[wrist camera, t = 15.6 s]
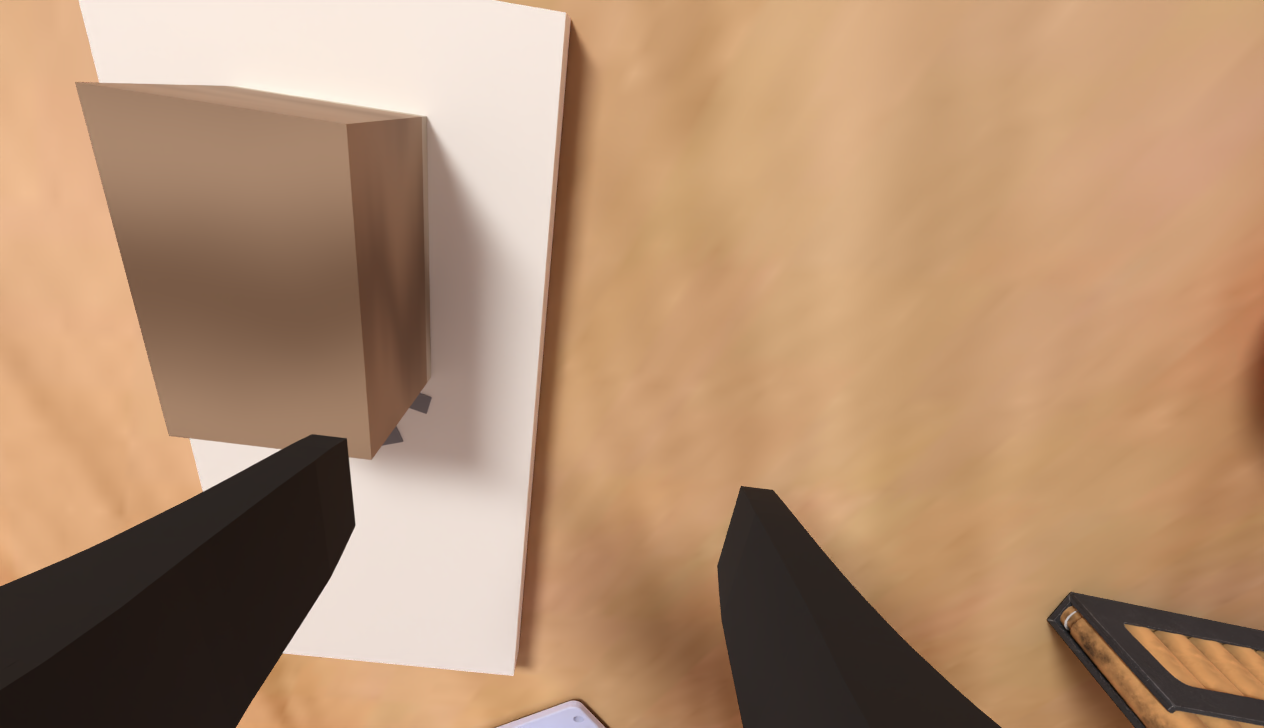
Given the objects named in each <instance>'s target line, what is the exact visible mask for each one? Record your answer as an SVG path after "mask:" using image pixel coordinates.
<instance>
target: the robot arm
mask: <svg viewBox="0 0 1264 728" xmlns="http://www.w3.org/2000/svg"><path fill="white" fill-rule="evenodd" d="M355 526H356V524H355V514H354V504H353V494H352V484H351V474H350V465H349V455H348V445H347V438H340V437H332V436H324V435H316V434H311V435H309V436H307V437H305V438H303V439H301V440H299V441H297V442H295V443H293V444H291V445H289V446H287V447H285V448H283V449H281V450H280V451H278V452H276V453H274V454H272V455H270V456H268V457H267V458H265V459H263V460H261V461H259V462H257V463H256V464H254V465H252V466H250V467H248V468H246V469H245V470H243V471H241V472H239V473H237V474H235V475H234V476H232V477H230V478H228V479H226V480H224V481H222V482H220V483H219V484H217V485H215V486H213V487H211V488H209V489H207V490H206V491H204V492H202V493H200V494H198V495H196V496H194V497H192V498H191V499H189V500H187V501H185V502H183V503H181V504H179V505H177V506H175V507H173V508H171V509H169V510H167V511H165V512H163V513H161V514H159V515H157V516H155V517H153V518H151V519H149V520H147V521H144V522H142V523H140V524H138V525H136V526H134V527H132V528H130V529H128V530H126V531H124V532H122V533H120V534H118V535H116V536H114V537H112V538H110V539H108V540H106V541H104V542H102V543H99V544H97V545H95V546H93V547H91V548H89V549H86V550H84V551H82V552H80V553H78V554H75V555H73V556H71V557H69V558H66V559H64V560H62V561H60V562H57V563H55V564H53V565H50V566H48V567H45V568H43V569H41V570H38V571H36V572H34V573H31V574H29V575H27V576H24V577H22V578H19V579H17V580H15V581H12V582H10V583H8V584H5V585H3V586H0V728H236V726H237V725H238V723H239V721H240V720H241V718H242V716H243V715H244V713H245V711H246V710H247V708H248V706H249V705H250V703H251V701H252V700H253V698H254V697H255V695H256V694H257V692H258V691H259V689H260V687H261V686H262V684H263V683H264V681H265V680H266V678H267V677H268V675H269V674H270V672H271V670H272V669H273V667H274V666H275V664H276V663H277V661H278V660H279V658H280V656H281V655H282V653H283V652H284V650H285V649H286V647H287V646H288V644H289V643H290V641H291V639H292V638H293V636H294V635H295V633H296V632H297V630H298V629H299V627H300V626H301V624H302V622H303V621H304V619H305V618H306V616H307V615H308V613H309V611H310V610H311V608H312V607H313V605H314V604H315V602H316V600H317V599H318V597H319V596H320V594H321V593H322V591H323V589H324V588H325V586H326V585H327V583H328V581H329V580H330V578H331V576H332V574H333V572H334V570H335V568H336V566H337V564H338V562H339V560H340V558H341V556H342V554H343V552H344V550H345V548H346V545H347V543H348V541H349V539H350V537H351V534H352V532H353V530H354V528H355ZM717 567H718V582H719V596H720V607H721V618H722V624H723V629H724V634H725V639H726V645H727V650H728V655H729V660H730V665H731V670H732V675H733V679H734V684H735V689H736V694H737V699H738V704H739V709H740V714H741V719H742V724H743V728H1001V727H1000V726H999V725H998V724H997V723H995V722H994V721H993V720H992V719H991V718H989V717H988V716H987V715H986V714H985V713H983V712H982V711H981V710H980V709H979V708H977V707H976V706H975V705H974V704H973V703H972V702H971V701H969V700H968V699H967V698H966V697H965V696H964V695H963V694H961V693H960V692H959V691H958V690H957V689H956V688H955V687H954V686H952V685H951V684H950V683H949V682H948V681H947V680H946V679H945V678H944V677H943V676H942V675H941V674H940V673H939V672H937V671H936V670H935V669H934V668H933V667H932V666H931V665H930V664H929V663H928V662H927V661H926V660H925V659H924V658H922V657H921V656H920V655H919V654H918V653H917V652H916V651H915V650H914V649H913V648H912V647H911V646H910V645H909V644H908V643H907V642H906V641H905V640H904V639H903V638H902V637H901V636H900V635H899V634H898V633H897V632H896V631H895V630H894V629H893V628H892V627H891V626H890V625H889V624H888V623H887V622H886V621H885V620H884V619H883V618H882V616H881V615H880V614H879V613H878V612H877V611H876V610H875V609H874V608H873V607H872V606H871V605H870V604H869V603H868V602H867V601H866V600H865V599H864V597H863V596H862V595H861V594H860V593H859V592H858V591H857V590H856V589H855V587H854V586H853V585H852V584H851V583H850V582H849V581H848V580H847V578H846V577H845V576H844V575H843V574H842V573H841V572H840V570H839V569H838V568H837V567H836V566H835V565H834V563H833V562H832V561H831V560H830V559H829V558H828V556H827V555H826V554H825V553H824V552H823V550H822V549H821V548H820V547H819V546H818V544H817V543H816V542H815V541H814V539H813V538H812V537H811V536H810V535H809V533H808V532H807V531H806V530H805V528H804V527H803V526H802V525H801V524H800V522H799V521H798V520H797V519H796V517H795V516H794V515H793V514H792V512H791V511H790V510H789V509H788V507H787V506H786V505H785V504H784V503H783V501H782V500H781V499H780V498H779V497H778V495H777V494H776V493H775V492H774V491H773V490H769V489H760V488H752V487H744V486H741V488H740V491H739V495H738V498H737V501H736V505H735V508H734V512H733V515H732V518H731V522H730V525H729V528H728V532H727V535H726V539H725V542H724V545H723V549H722V552H721V556H720V559H719V562H718V566H717ZM496 728H605V727H604V726H603V724H602V723H601V722H600V721H599V720H598V719H597V718H596V717H595V716H594V715H593V714H592V713H591V712H590V711H589V710H588V709H587V708H586V707H585V706H584V705H583V704H582V703H581V702H579V701H575V700H572V701H568V702H565V703H563V704H560V705H557V706H554V707H551V708H549V709H546V710H543V711H540V712H538V713H535V714H532V715H529V716H527V717H524V718H521V719H518V720H515V721H513V722H510V723H507V724H504V725H502V726H499V727H496Z"/></svg>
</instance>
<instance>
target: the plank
mask: <svg viewBox="0 0 1264 728" xmlns="http://www.w3.org/2000/svg"><path fill="white" fill-rule="evenodd" d="M79 4H80V8H81V12H82V16H83V20H84V24H85V27H86V31H87V35H88V39H89V43H90V47H91V51H92V55H93V59H94V63H95V67H96V71H97V75H98V79H99V83H133V84H174V85H214V86H238V87H244V88H251V89H257V90H263V91H270V92H276V93H282V94H289V95H295V96H302V97H308V98H314V99H321V100H327V101H333V102H340V103H346V104H352V105H359V106H365V107H372V108H378V109H384V110H391V111H397V112H403V113H410V114H416V115H422V116H427V153H428V216H429V279H430V343H431V378H430V380H429V381H428V382H427V384H426V385H425V387H424V388H423V389H422V391H421V392H420V394H419V395H418V396H417V398H416V399H415V400H414V402H413V403H412V405H411V406H410V407H409V409H408V410H407V412H406V413H405V414H404V416H403V417H402V419H401V420H400V421H399V423H398V424H397V425H396V427H395V428H394V430H393V431H392V432H391V434H390V435H389V437H388V438H387V439H386V441H385V442H384V443H383V445H382V446H381V448H380V449H379V450H378V452H377V453H376V455H375V456H374V457H373V459H372V460H367V459H359V458H350V457H349V465H350V474H351V484H352V494H353V504H354V514H355V524H356V526H355V528H354V530H353V532H352V534H351V537H350V539H349V541H348V543H347V545H346V548H345V550H344V552H343V554H342V556H341V558H340V560H339V562H338V564H337V566H336V568H335V570H334V572H333V574H332V576H331V578H330V580H329V581H328V583H327V585H326V586H325V588H324V589H323V591H322V593H321V594H320V596H319V597H318V599H317V600H316V602H315V604H314V605H313V607H312V608H311V610H310V611H309V613H308V615H307V616H306V618H305V619H304V621H303V622H302V624H301V626H300V627H299V629H298V630H297V632H296V633H295V635H294V636H293V638H292V639H291V641H290V643H289V644H288V646H287V647H286V649H285V650H284V652H283V653H285V654H296V655H306V656H316V657H326V658H337V659H347V660H357V661H367V662H378V663H388V664H398V665H408V666H419V667H429V668H439V669H449V670H460V671H470V672H480V673H490V674H501V675H511V676H514V671H515V666H516V661H517V656H518V651H519V639H520V627H521V615H522V603H523V591H524V579H525V567H526V555H527V543H528V531H529V519H530V507H531V494H532V482H533V470H534V458H535V446H536V434H537V422H538V410H539V398H540V386H541V374H542V362H543V350H544V337H545V325H546V313H547V301H548V289H549V277H550V265H551V253H552V241H553V229H554V217H555V205H556V193H557V181H558V168H559V156H560V144H561V132H562V120H563V108H564V96H565V84H566V72H567V60H568V48H569V36H570V24H571V18H570V17H569V16H568V14H567V13H565V12H559V11H553V10H548V9H542V8H536V7H530V6H524V5H518V4H513V3H507V2H501V1H495V0H79ZM190 442H191V446H192V450H193V454H194V458H195V462H196V466H197V470H198V474H199V478H200V482H201V486H202V490H203V492H204V491H206V490H207V489H209V488H211V487H213V486H215V485H217V484H219V483H220V482H222V481H224V480H226V479H228V478H230V477H232V476H234V475H235V474H237V473H239V472H241V471H243V470H245V469H246V468H248V467H250V466H252V465H254V464H256V463H257V462H259V461H261V460H263V459H265V458H267V457H268V456H270V455H272V454H274V453H276V452H278V451H280V450H281V449H275V448H266V447H258V446H250V445H241V444H233V443H224V442H216V441H208V440H199V439H191V438H190Z"/></svg>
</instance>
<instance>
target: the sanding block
mask: <svg viewBox="0 0 1264 728" xmlns="http://www.w3.org/2000/svg"><path fill="white" fill-rule="evenodd" d="M75 84H76V87H77V91H78V95H79V99H80V102H81V106H82V110H83V114H84V117H85V121H86V125H87V129H88V133H89V136H90V140H91V144H92V148H93V151H94V155H95V159H96V163H97V166H98V170H99V174H100V178H101V181H102V185H103V189H104V193H105V197H106V200H107V204H108V208H109V212H110V215H111V219H112V223H113V227H114V230H115V234H116V238H117V242H118V246H119V249H120V253H121V257H122V261H123V264H124V268H125V272H126V276H127V279H128V283H129V287H130V291H131V294H132V298H133V302H134V306H135V310H136V313H137V317H138V321H139V325H140V328H141V332H142V336H143V340H144V343H145V347H146V351H147V355H148V358H149V362H150V366H151V370H152V374H153V377H154V381H155V385H156V389H157V392H158V396H159V400H160V404H161V407H162V411H163V415H164V419H165V422H166V426H167V430H168V434H169V436H174V437H182V438H191V439H199V440H208V441H216V442H224V443H233V444H241V445H250V446H258V447H266V448H275V449H283V448H285V447H287V446H289V445H291V444H293V443H295V442H297V441H299V440H301V439H303V438H305V437H307V436H309V435H311V434H316V435H324V436H332V437H340V438H347V445H348V455H349V457H350V458H359V459H367V460H372V459H373V457H374V456H375V455H376V453H377V452H378V450H379V449H380V448H381V446H382V445H383V443H384V442H385V441H386V439H387V438H388V437H389V435H390V434H391V432H392V431H393V430H394V428H395V427H396V425H397V424H398V423H399V421H400V420H401V419H402V417H403V416H404V414H405V413H406V412H407V410H408V409H409V407H410V406H411V405H412V403H413V402H414V400H415V399H416V398H417V396H418V395H419V394H420V392H421V391H422V389H423V388H424V387H425V385H426V384H427V382H428V381H429V380H430V378H431V343H430V279H429V216H428V153H427V116H422V115H416V114H410V113H403V112H397V111H391V110H384V109H378V108H372V107H365V106H359V105H352V104H346V103H340V102H333V101H327V100H321V99H314V98H308V97H302V96H295V95H289V94H282V93H276V92H270V91H263V90H257V89H251V88H244V87H238V86H214V85H174V84H133V83H93V82H75Z"/></svg>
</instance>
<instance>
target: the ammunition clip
mask: <svg viewBox="0 0 1264 728" xmlns="http://www.w3.org/2000/svg"><path fill="white" fill-rule="evenodd" d="M1047 621H1048V622H1049V623H1050V624H1051V625H1052V627H1053V628H1054V629H1055V630H1056V632H1057V633H1058V634H1059V635H1060V637H1061V638H1062V639H1063V640H1064V641H1065V643H1066V644H1067V645H1068V646H1069V648H1070V649H1071V650H1072V651H1073V652H1074V654H1075V655H1076V656H1077V657H1078V659H1079V660H1080V661H1081V662H1082V663H1083V665H1084V666H1085V667H1086V668H1087V670H1088V671H1089V672H1090V673H1091V674H1092V676H1093V677H1094V678H1095V679H1096V681H1097V682H1098V683H1099V684H1100V685H1101V687H1102V688H1103V689H1104V690H1105V692H1106V693H1107V694H1108V695H1109V696H1110V698H1111V699H1112V700H1113V701H1114V703H1115V704H1116V705H1117V706H1118V707H1119V709H1120V710H1121V711H1122V712H1123V714H1124V715H1125V716H1126V717H1127V719H1128V720H1129V721H1130V722H1131V723H1132V725H1133V726H1134V727H1135V728H1264V631H1261V630H1256V629H1251V628H1246V627H1241V626H1236V625H1231V624H1227V623H1222V622H1217V621H1212V620H1207V619H1202V618H1197V617H1192V616H1187V615H1182V614H1177V613H1172V612H1167V611H1162V610H1158V609H1153V608H1148V607H1143V606H1138V605H1133V604H1128V603H1123V602H1118V601H1113V600H1108V599H1103V598H1098V597H1093V596H1089V595H1084V594H1079V593H1074V592H1070V594H1069V595H1068V596H1067V597H1066V598H1065V599H1064V601H1063V602H1062V603H1061V604H1060V605H1059V606H1058V608H1057V609H1056V610H1055V611H1054V612H1053V613H1052V615H1051V616H1050V617H1049V618H1048V619H1047Z"/></svg>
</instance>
